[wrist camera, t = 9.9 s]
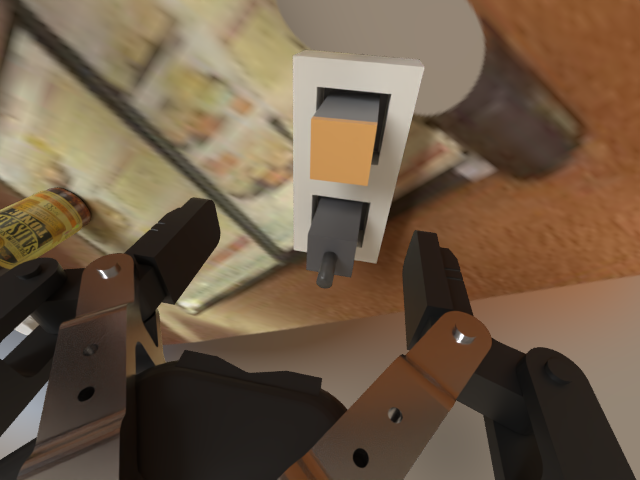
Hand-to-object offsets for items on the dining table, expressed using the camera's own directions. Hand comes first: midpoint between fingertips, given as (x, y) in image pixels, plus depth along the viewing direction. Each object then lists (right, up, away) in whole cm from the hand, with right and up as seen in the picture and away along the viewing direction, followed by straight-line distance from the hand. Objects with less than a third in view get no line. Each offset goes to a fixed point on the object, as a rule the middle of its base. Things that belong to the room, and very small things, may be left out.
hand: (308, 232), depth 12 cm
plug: (+3, +10, +13) cm, 17 cm away
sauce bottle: (-34, +5, +28) cm, 44 cm away
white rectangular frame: (+3, +7, +17) cm, 19 cm away
